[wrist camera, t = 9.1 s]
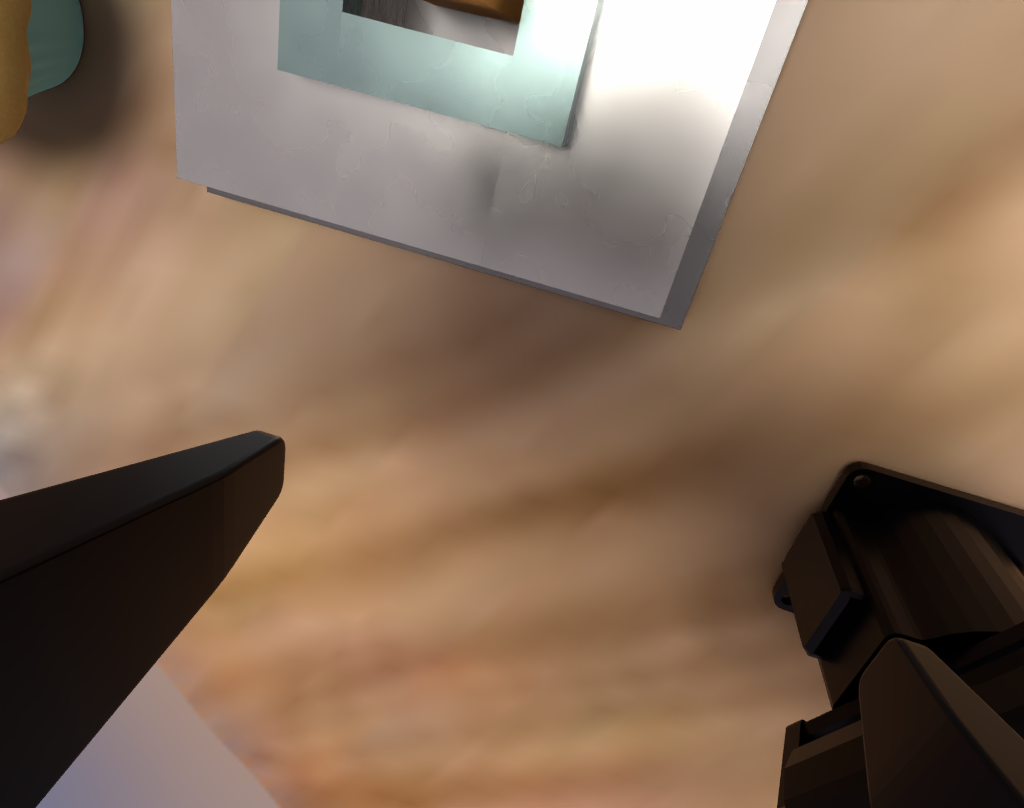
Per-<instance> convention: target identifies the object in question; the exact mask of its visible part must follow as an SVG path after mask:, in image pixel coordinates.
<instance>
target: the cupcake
mask: <svg viewBox="0 0 1024 808" xmlns="http://www.w3.org/2000/svg"><path fill="white" fill-rule="evenodd" d="M83 41H84V25H83V16H82V11H81V6H80V2H79V0H0V144H2V143H3V142H5V141H7V140H8V139H10V138H11V137H12V136H14V135H15V134H16V132H17V131H18V130H19V128H20V126H21V124H22V122H23V120H24V117H25V115H26V111H27V102H28V97H30V96H32V95H34V94H37V93H39V92H42V91H44V90H47V89H50V88H53V87H55V86H57V85H59V84H61V83H63V82H64V81H65V80H66V79H67V78H69V76H70V75H71V74H72V73H73V71H74V70H75V68H76V67H77V65H78V62H79V60H80V57H81V53H82V48H83Z"/></svg>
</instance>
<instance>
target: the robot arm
mask: <svg viewBox="0 0 1024 808" xmlns="http://www.w3.org/2000/svg"><path fill="white" fill-rule="evenodd" d="M284 464H285V442H284V440H283V439H282V438H281V437H278V436H275V435H272V434H269V433H266V432H263V431H252V432H249V433H245V434H241V435H238V436H234V437H230V438H227V439H223V440H219V441H216V442H212V443H208V444H205V445H201V446H197V447H194V448H190V449H186V450H183V451H179V452H175V453H172V454H168V455H164V456H161V457H157V458H153V459H150V460H146V461H142V462H139V463H135V464H131V465H128V466H124V467H120V468H117V469H113V470H109V471H106V472H102V473H98V474H95V475H91V476H87V477H84V478H80V479H76V480H73V481H69V482H65V483H62V484H58V485H54V486H51V487H47V488H43V489H40V490H36V491H32V492H29V493H25V494H21V495H18V496H14V497H10V498H7V499H3V500H0V808H36V806H37V805H38V804H39V803H40V801H41V800H42V799H43V798H44V797H45V796H46V794H47V793H48V792H49V791H50V789H51V788H52V787H53V786H54V785H55V784H56V782H57V781H58V780H59V779H60V778H61V776H62V775H63V774H64V773H65V771H66V770H67V769H68V768H69V766H70V765H71V764H72V763H73V762H74V761H75V759H76V758H77V757H78V756H79V755H80V753H81V752H82V751H83V750H84V749H85V747H86V746H87V745H88V744H89V742H90V741H91V740H92V739H93V738H94V736H95V735H96V734H97V733H98V732H99V730H100V729H101V728H102V727H103V725H104V724H105V723H106V722H107V721H108V719H109V718H110V717H111V716H112V715H113V713H114V712H115V711H116V710H117V708H118V707H119V706H120V705H121V704H122V702H123V701H124V700H125V699H126V698H127V696H128V695H129V694H130V693H131V692H132V690H133V689H134V688H135V687H136V686H137V684H138V683H139V682H140V681H141V680H142V678H143V677H144V676H145V675H146V673H147V672H148V671H149V670H150V669H151V667H152V666H153V665H154V664H155V663H156V661H157V660H158V659H159V658H160V657H161V655H162V654H163V653H164V652H165V651H166V649H167V648H168V647H169V646H170V644H171V643H172V642H173V641H174V640H175V638H176V637H177V636H178V635H179V634H180V632H181V631H182V630H183V629H184V628H185V626H186V625H187V624H188V623H189V621H190V620H191V619H192V618H193V617H194V615H195V614H196V613H197V612H198V611H199V609H200V608H201V607H202V606H203V605H204V603H205V602H206V601H207V600H208V599H209V597H210V596H211V595H212V594H213V592H214V591H215V590H216V589H217V587H218V586H219V585H220V584H221V582H222V581H223V580H224V578H225V577H226V576H227V574H228V573H229V571H230V570H231V568H232V567H233V566H234V564H235V562H236V561H237V559H238V558H239V556H240V555H241V553H242V552H243V550H244V549H245V547H246V546H247V544H248V543H249V541H250V540H251V538H252V537H253V535H254V534H255V532H256V530H257V529H258V527H259V526H260V524H261V523H262V521H263V520H264V518H265V517H266V515H267V514H268V512H269V511H270V509H271V508H272V506H273V505H274V503H275V502H276V500H277V498H278V497H279V495H280V493H281V490H282V487H283V481H284ZM860 475H866V476H867V477H866V478H865V479H864V480H863V481H860V482H856V481H854V479H855V478H856V477H857V476H860ZM782 569H783V573H782V574H781V576H780V578H779V579H778V581H777V583H776V584H775V586H774V588H773V591H772V593H773V598H774V602H775V604H776V605H777V606H778V607H779V608H781V609H783V610H786V611H789V612H792V613H794V615H795V619H796V622H797V626H798V630H799V634H800V638H801V642H802V645H803V648H804V649H805V651H806V653H807V655H808V656H811V657H814V658H817V659H818V661H819V665H820V668H821V672H822V675H823V679H824V682H825V686H826V689H827V693H828V696H829V700H830V704H831V707H832V710H831V711H829V712H827V713H824V714H822V715H820V716H818V717H816V718H814V719H811V720H809V721H807V722H806V721H805V720H800V721H798V722H795V723H793V724H791V725H789V726H787V727H786V733H785V742H784V750H783V759H782V768H781V777H780V786H779V795H778V804H777V808H1024V511H1023V510H1019V509H1016V508H1013V507H1010V506H1006V505H1003V504H1000V503H996V502H993V501H990V500H986V499H983V498H980V497H976V496H973V495H970V494H967V493H963V492H960V491H957V490H953V489H950V488H947V487H943V486H940V485H937V484H934V483H930V482H927V481H924V480H920V479H917V478H914V477H910V476H907V475H904V474H900V473H897V472H894V471H891V470H887V469H884V468H881V467H877V466H874V465H871V464H867V463H862V462H858V463H853V464H851V465H849V466H847V467H846V468H845V469H844V470H843V472H842V474H841V475H840V477H839V479H838V480H837V482H836V484H835V485H834V487H833V489H832V491H831V492H830V494H829V496H828V497H827V499H826V501H825V502H824V504H823V506H822V507H821V509H820V510H818V511H816V512H814V513H812V514H811V515H810V517H809V519H808V520H807V522H806V524H805V525H804V527H803V529H802V531H801V532H800V534H799V536H798V537H797V539H796V541H795V542H794V544H793V546H792V547H791V549H790V551H789V553H788V554H787V556H786V558H785V559H784V561H783V563H782ZM787 594H788V595H789V596H790V597H788V598H786V597H783V596H784V595H787Z"/></svg>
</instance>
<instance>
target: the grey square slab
mask: <svg viewBox="0 0 1024 808" xmlns="http://www.w3.org/2000/svg"><path fill="white" fill-rule="evenodd" d="M807 2H808V0H524V5H523V10H522V15H521V20H520V25H519V24H514V23H510V22H506V21H501V20H497V19H493V18H488V17H484V16H480V15H475V14H471V13H467V12H462V11H458V10H454V9H449V8H445V7H441V6H436V5H433V4H431V3H428V2H426V1H423V0H171V10H172V39H173V68H174V96H175V125H176V153H177V178H180V179H183V180H186V181H190V182H193V183H197V184H200V185H204V186H207V192H210V193H213V194H216V195H220V196H223V197H227V198H230V199H234V200H237V201H240V202H244V203H247V204H251V205H254V206H258V207H261V208H264V209H268V210H271V211H275V212H278V213H282V214H285V215H288V216H292V217H295V218H299V219H302V220H306V221H309V222H312V223H316V224H319V225H323V226H326V227H330V228H333V229H336V230H340V231H343V232H347V233H350V234H353V235H357V236H360V237H364V238H367V239H371V240H374V241H377V242H381V243H384V244H388V245H391V246H395V247H398V248H401V249H405V250H408V251H412V252H415V253H419V254H422V255H425V256H429V257H432V258H436V259H439V260H443V261H446V262H449V263H453V264H456V265H460V266H463V267H467V268H470V269H473V270H477V271H480V272H484V273H487V274H491V275H494V276H497V277H501V278H504V279H508V280H511V281H514V282H518V283H521V284H525V285H528V286H532V287H535V288H538V289H542V290H545V291H549V292H552V293H556V294H559V295H562V296H566V297H569V298H573V299H576V300H580V301H583V302H586V303H590V304H593V305H597V306H600V307H604V308H607V309H610V310H614V311H617V312H621V313H624V314H628V315H631V316H634V317H638V318H641V319H645V320H648V321H652V322H655V323H658V324H662V325H665V326H669V327H672V328H675V329H679V330H681V327H682V324H683V322H684V319H685V317H686V314H687V312H688V309H689V306H690V304H691V301H692V299H693V296H694V293H695V291H696V288H697V286H698V283H699V281H700V278H701V275H702V273H703V270H704V268H705V265H706V263H707V260H708V257H709V255H710V252H711V250H712V247H713V244H714V242H715V239H716V237H717V234H718V232H719V229H720V226H721V224H722V221H723V219H724V216H725V213H726V211H727V208H728V206H729V203H730V201H731V198H732V195H733V193H734V190H735V188H736V185H737V182H738V180H739V177H740V175H741V172H742V170H743V167H744V164H745V162H746V159H747V157H748V154H749V151H750V149H751V146H752V144H753V141H754V139H755V136H756V133H757V131H758V128H759V126H760V123H761V120H762V118H763V115H764V113H765V110H766V108H767V105H768V102H769V100H770V97H771V95H772V92H773V89H774V87H775V84H776V82H777V79H778V77H779V74H780V71H781V69H782V66H783V64H784V61H785V58H786V56H787V53H788V51H789V48H790V46H791V43H792V40H793V38H794V35H795V33H796V30H797V27H798V25H799V22H800V20H801V17H802V15H803V12H804V9H805V7H806V4H807Z"/></svg>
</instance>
